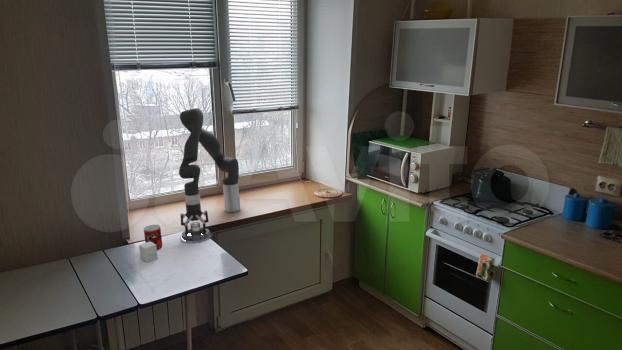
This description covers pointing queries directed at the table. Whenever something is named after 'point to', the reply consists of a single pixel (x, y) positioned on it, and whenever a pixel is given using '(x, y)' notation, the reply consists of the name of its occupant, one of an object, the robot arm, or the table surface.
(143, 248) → the product box
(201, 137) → the robot arm
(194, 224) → the piston
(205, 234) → the ring
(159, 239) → the canned food
